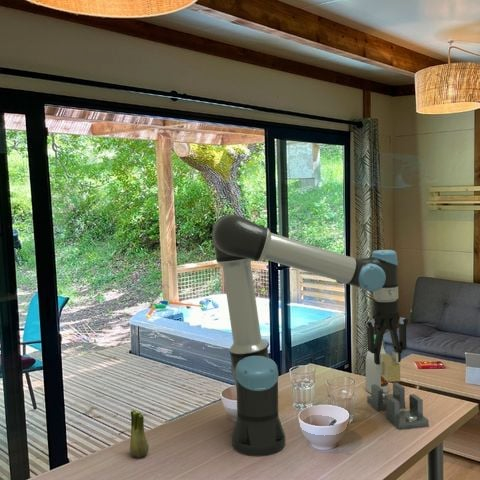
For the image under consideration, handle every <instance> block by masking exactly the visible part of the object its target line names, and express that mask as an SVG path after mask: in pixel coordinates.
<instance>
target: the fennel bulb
mask: <svg viewBox="0 0 480 480" xmlns="http://www.w3.org/2000/svg"><path fill="white" fill-rule="evenodd" d="M130 417H131V419H130V424H131V425H130V426H131V428H130V443H129V444H130V445H129V451H130V455H131V456H132V457H133V458H142V457H145V455H147V453H148V452H149V442H148V440H147V438H146V436H145V435H146V434H145V426H144V425H145V424H144V422H145V421H144V420H145V419H144V415H143V414H142V412H141V411H136V410H135V409H132V410H130Z"/></svg>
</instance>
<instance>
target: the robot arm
mask: <svg viewBox="0 0 480 480" xmlns="http://www.w3.org/2000/svg"><path fill="white" fill-rule="evenodd" d="M211 237H212V239H211V240H212V241H213V247H214V253H215V259H216V263H217V264H219V266H221V267H222V271H223V272H222V273H223V279H224V287H225V294H226V301H227V307H228V314H229V320H230V321H229V322H230V328H231V334H232V341H233V342H232V345H231V346H230V347H229V354H230V361H231V362H230V363H231V365H230V370H231V375H232V377H233V380H234V383H235V388H236V412H237V413H236V416H237V417H236V420H235V423H234V426H233V430H232V433H231V446H232V448H233V449H234V450H235V451H237V452H238V453H241V454H244V455H246V456H247V455H248V456H255V457H257V456H259V457H262V456H268V455H273V454H277V453H278V452H280V451H282V450H283V449H284V448H285V446H286V433H285V430H284V428H283V425H282V422H281V419H280V417H279V416H280V415H279V369H278V365H277V363H276V362H275V361H274V360H273V359H272V358H270V357H269V350H268V344H267V342H265V341H264V340H263V339H262V335H261V328H260V321H259V315H258V314H259V313H258V307H257V300H256V292H255V291H256V290H255V284H254V278H253V272H252V265H251V262H252V261H256V262H260V261H261V260H266V261H269V262H273V263H276V264H279V265H283V266H286V267H290V268H293V269H297V270H300V271H303V272H307V273H309V274H313V275H317V276H320V277H324V278H326V279H331V280H334V281H336V283H337V284H345V285H347V284H348V285H350V286H354V287H357V288H359V289H362V290H363V291H368V292H373V293H372V295H373V316H372V319H370V320H365V322H364V324H365V326H366V338H367V341H366V342H367V352H368V351H369V352H371V353H374V363H375V364H377V373H378V374H379V375H381V376H382V375H383V355H382V354H380V351H381V346H382V341H383V342H384V336H385V334H386V331H387V330H388V331H389V334H390V338H391V341H392V346H393V347H392V348H393V350H392V351H391V357H392V358H393V359H394V360H395V361H396V362H397V363H401V361H402V360H401V359H402V355H401V354H402V353H403V351H406V350H407V343H408V342H407V326H408V323H409V320H408V319H407V318H405V317H401V316H400V315H399V311H400V305H399V304H400V303H399V301H398V299H399V281H398V280H399V277H398V276H399V269H398V268H399V263H398V255H397V252H396V251H395V250H392V249H378V250H373V251H372V253H371V254H372V255H371V256H370V257H359V258H358V257H357V258H354V257H352V256H348V255H345V254H341V253H339V252H335V251H331V250H329V249H326V248H322V247H319V246H315V245H313V244H310V243H305V242H302V241H300V240H296V239H292V238H290V237H286V236H284V235H283V236H282V235H280V234H276V233H273V232H271V231H270V228H269V227H266V226H262V225H259V224H257V223H255V222H252V221H250V220H249V219H247V218H245V217H243V216H241V215H238V214H235V213H234V214H227V215H226V214H225V215H224V216H221V217H220V218H218V219H217V220H216V221H215V223H214V224H213V227H212V231H211ZM398 324H399V325H398ZM397 325H398V328H397ZM375 326H376V329H375V330H376V334H375V330H374V327H375ZM397 329H398V330H397ZM374 335H376V339H375V344H374Z"/></svg>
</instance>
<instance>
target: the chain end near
mask: <svg viewBox="0 0 480 480" xmlns="http://www.w3.org/2000/svg"><path fill="white" fill-rule="evenodd" d="M408 396H409V409H408V410H407V409H406V410H400V409H399V402H398V401H397V400H396V399H395V398H393V397H392V396H389V397H387V410H386V413H385V416H386V418H385V419H386V420H387V421H388V422H389V423H390V424H392V425H393V426H394V427H396V429H397V430H399V431H400V430H407V429H408V430H409V429H418V428H419V429H420V428H425V427H427V428H428V427H429V426H430V425H429V423H430V421H429V419H428V418H427V417H425V416H424V412H423V411H424V409H423V408H424V406H423V405H424V403H423V402H424V400H423V399H422V398H421V397H419V396H418V395H416V394H415V393H412V394H411V393H410V394H409V395H408Z"/></svg>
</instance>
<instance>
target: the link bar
mask: <svg viewBox="0 0 480 480" xmlns="http://www.w3.org/2000/svg"><path fill="white" fill-rule="evenodd" d="M382 355H383V375H382V376H383V378H384V379H385V380H386V381H387V382H388V383H389V382H390V383H391V382H393V383H394V382H401V365H400V362H398V363H397V362H396V361H395V360H394V359H393V358H392V355H390V354H389V353H386V354H382ZM376 370H377V364H376Z"/></svg>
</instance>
